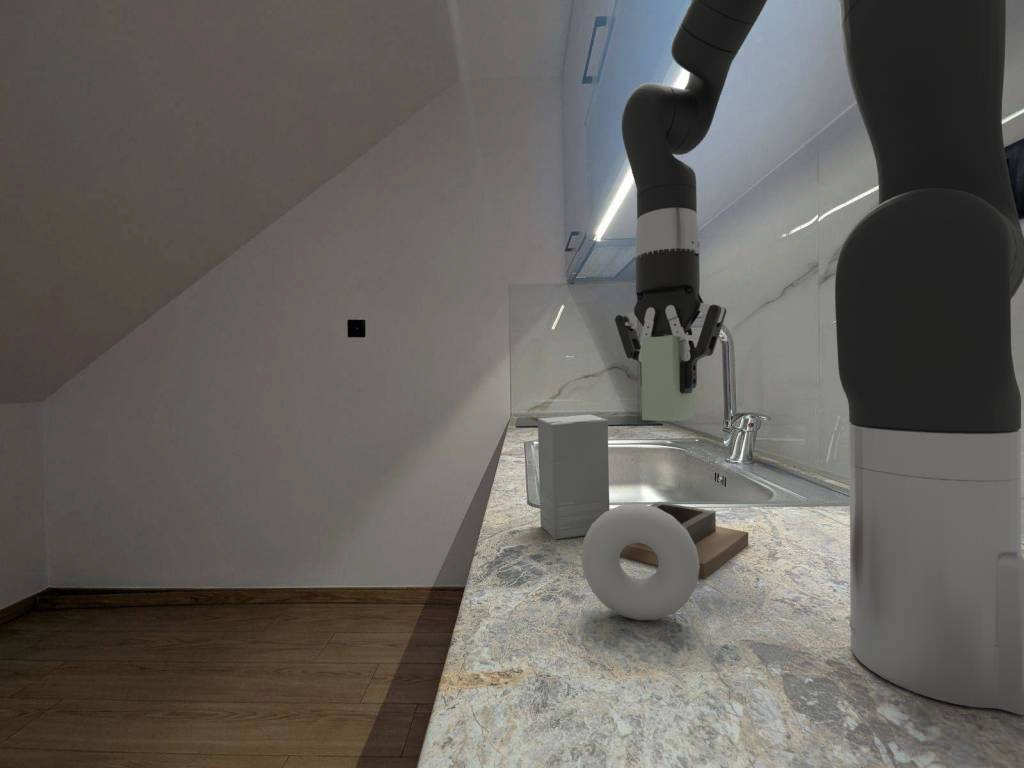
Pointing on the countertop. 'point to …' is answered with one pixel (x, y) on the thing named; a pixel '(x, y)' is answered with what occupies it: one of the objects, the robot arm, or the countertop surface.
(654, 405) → the keyed peg
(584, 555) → the donut
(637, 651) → the countertop surface
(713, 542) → the keyed socket board
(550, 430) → the skincare box
